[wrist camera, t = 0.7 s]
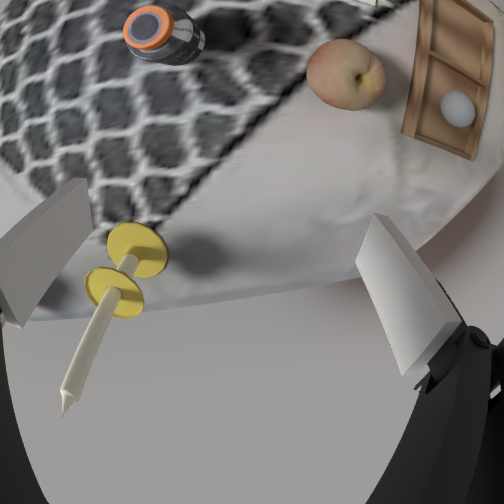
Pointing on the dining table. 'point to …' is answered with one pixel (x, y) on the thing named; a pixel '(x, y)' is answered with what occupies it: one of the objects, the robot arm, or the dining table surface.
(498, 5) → the milk carton
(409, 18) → the dining table surface
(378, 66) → the fruit
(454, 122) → the grey ball
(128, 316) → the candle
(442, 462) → the robot arm
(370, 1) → the tile
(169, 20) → the pill bottle
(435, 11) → the divided wooden tray
